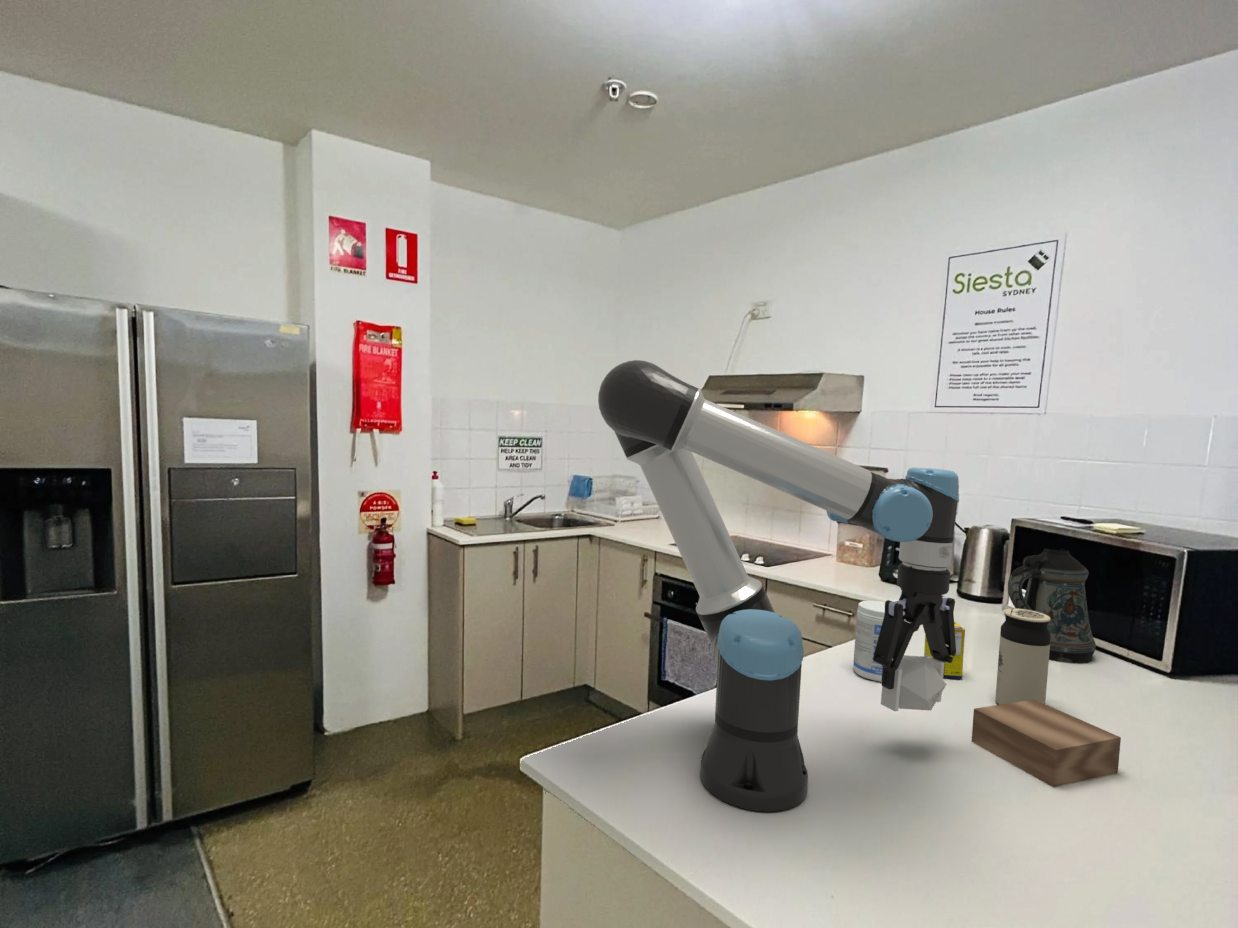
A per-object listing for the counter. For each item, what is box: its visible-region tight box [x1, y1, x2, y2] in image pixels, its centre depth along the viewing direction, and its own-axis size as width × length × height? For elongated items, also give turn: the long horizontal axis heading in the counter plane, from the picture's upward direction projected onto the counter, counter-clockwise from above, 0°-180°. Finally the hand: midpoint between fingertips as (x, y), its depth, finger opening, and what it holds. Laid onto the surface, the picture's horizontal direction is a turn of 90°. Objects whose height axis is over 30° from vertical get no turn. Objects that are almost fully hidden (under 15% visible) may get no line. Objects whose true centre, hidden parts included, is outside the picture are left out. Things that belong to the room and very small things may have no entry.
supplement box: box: [923, 621, 966, 680], centre depth 136 cm, size 6×6×11 cm
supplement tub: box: [852, 600, 907, 683], centre depth 134 cm, size 10×10×15 cm
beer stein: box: [1007, 546, 1097, 664], centre depth 153 cm, size 16×19×25 cm
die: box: [881, 654, 947, 711], centre depth 102 cm, size 8×9×10 cm
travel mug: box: [995, 607, 1051, 705], centre depth 121 cm, size 8×8×18 cm
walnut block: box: [971, 699, 1122, 788], centre depth 102 cm, size 14×14×6 cm
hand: (911, 702), depth 103 cm, fingers closed on die, 9 cm apart
